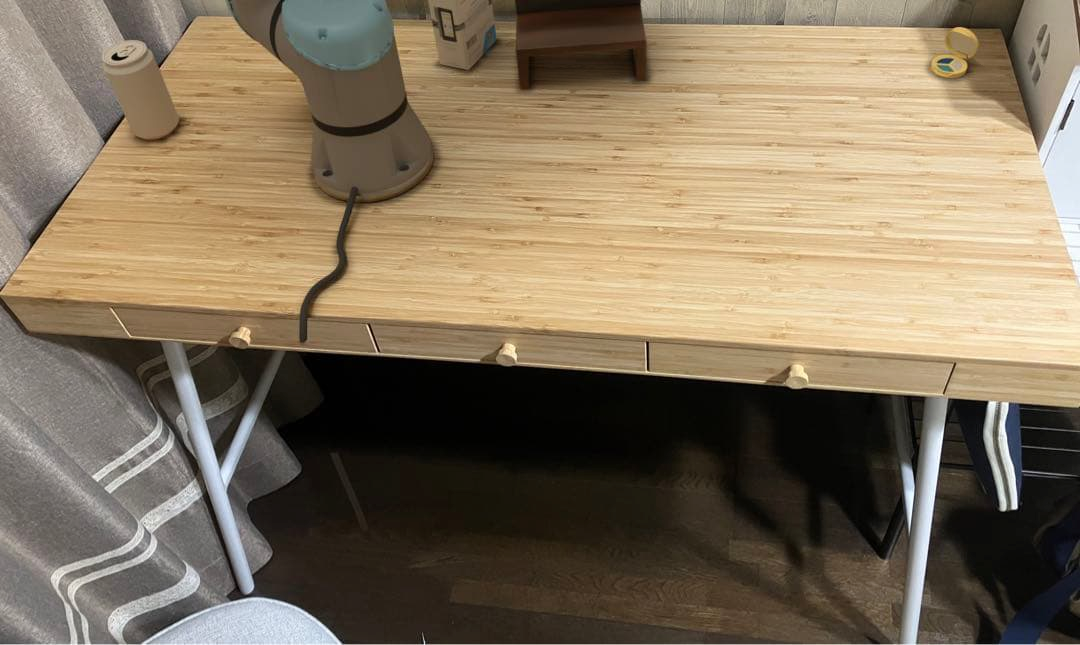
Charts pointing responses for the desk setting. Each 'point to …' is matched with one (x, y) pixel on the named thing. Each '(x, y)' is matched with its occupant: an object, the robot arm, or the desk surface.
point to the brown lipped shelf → (578, 30)
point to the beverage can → (140, 89)
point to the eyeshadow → (955, 53)
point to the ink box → (462, 30)
